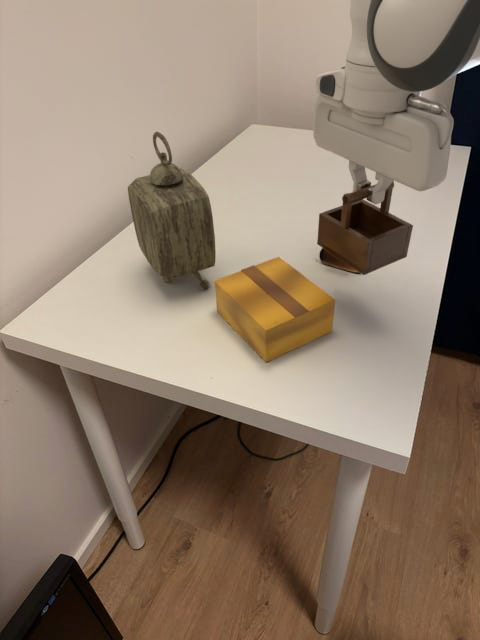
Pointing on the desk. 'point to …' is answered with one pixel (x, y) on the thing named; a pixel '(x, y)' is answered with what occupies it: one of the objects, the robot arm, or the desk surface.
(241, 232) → the desk surface
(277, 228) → the desk surface
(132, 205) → the tabletop clock
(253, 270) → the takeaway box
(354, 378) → the desk surface
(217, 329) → the desk surface
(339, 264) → the sunglasses case
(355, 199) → the basket
